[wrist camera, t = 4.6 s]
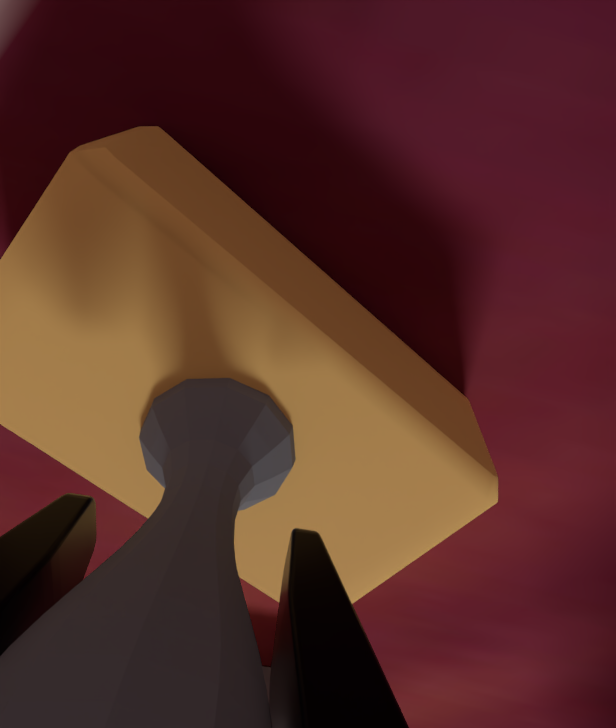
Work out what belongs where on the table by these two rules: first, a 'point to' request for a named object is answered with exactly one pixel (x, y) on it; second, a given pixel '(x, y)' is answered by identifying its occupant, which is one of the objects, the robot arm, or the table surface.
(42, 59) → the table surface
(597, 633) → the table surface
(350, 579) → the rubber stamp
